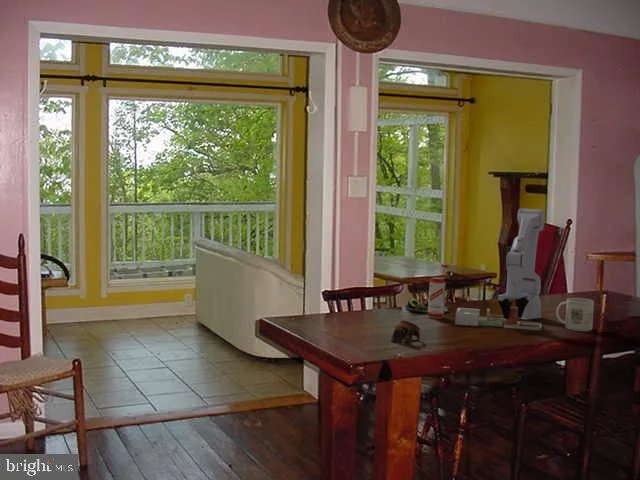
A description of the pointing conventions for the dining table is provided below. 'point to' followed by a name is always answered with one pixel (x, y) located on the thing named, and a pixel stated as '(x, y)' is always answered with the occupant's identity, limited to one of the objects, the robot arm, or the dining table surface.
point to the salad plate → (419, 307)
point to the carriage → (510, 321)
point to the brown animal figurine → (405, 332)
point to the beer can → (436, 298)
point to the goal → (467, 316)
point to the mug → (578, 314)
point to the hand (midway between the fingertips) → (512, 318)
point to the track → (499, 324)
